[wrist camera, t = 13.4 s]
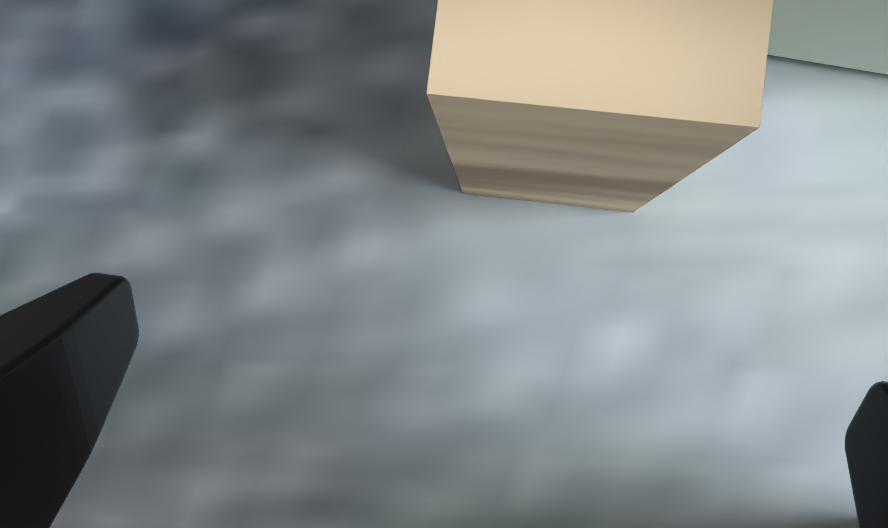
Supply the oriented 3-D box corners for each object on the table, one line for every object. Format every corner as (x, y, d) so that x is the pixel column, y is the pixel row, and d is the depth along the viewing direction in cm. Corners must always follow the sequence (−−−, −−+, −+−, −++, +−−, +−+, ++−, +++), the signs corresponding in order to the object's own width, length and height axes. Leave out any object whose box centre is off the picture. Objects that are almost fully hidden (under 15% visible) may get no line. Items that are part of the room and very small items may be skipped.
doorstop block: (633, 212, 22) (759, 127, 11) (463, 193, 23) (426, 94, 12) (650, 60, 22) (790, -167, 12) (481, 44, 23) (461, -190, 12)
